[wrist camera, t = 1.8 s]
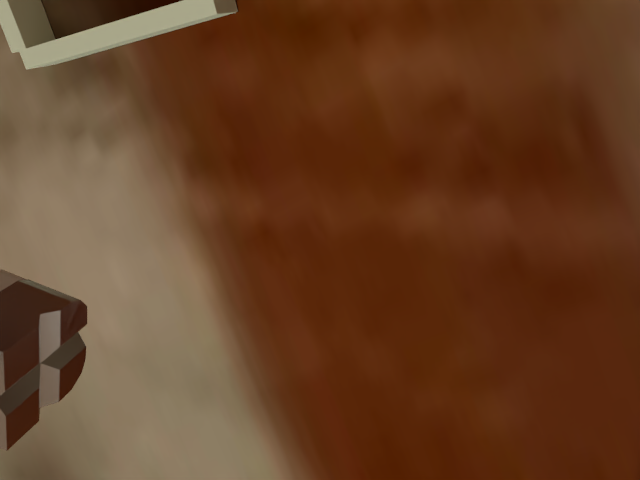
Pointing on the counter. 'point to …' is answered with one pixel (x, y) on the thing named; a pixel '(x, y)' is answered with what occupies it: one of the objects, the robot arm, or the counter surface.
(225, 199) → the counter surface
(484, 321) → the counter surface
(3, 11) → the tray frame
